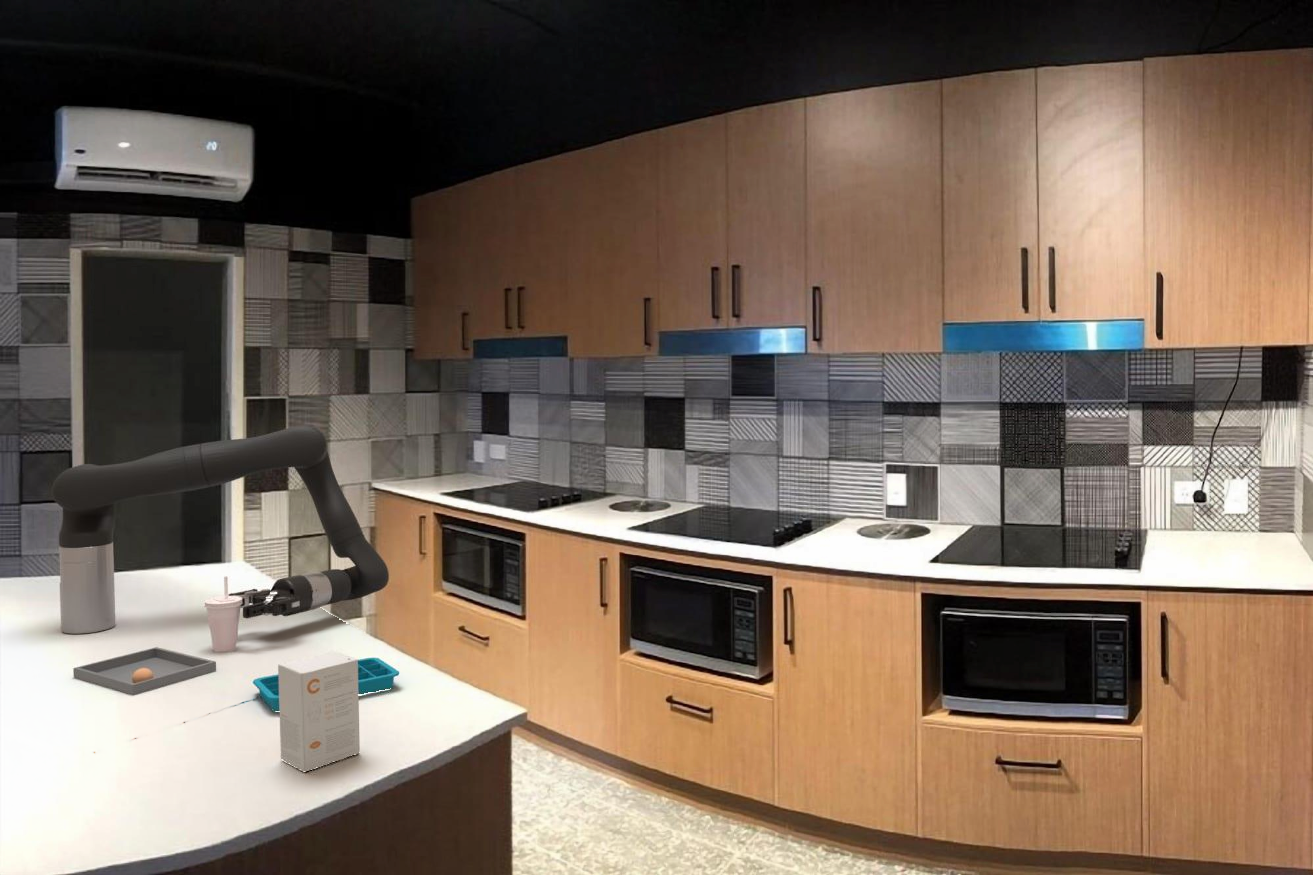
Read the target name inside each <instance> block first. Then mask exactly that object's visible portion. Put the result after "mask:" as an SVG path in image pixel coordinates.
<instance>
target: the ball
mask: <svg viewBox="0 0 1313 875" xmlns="http://www.w3.org/2000/svg"><path fill="white" fill-rule="evenodd" d="M152 678H153V673H152V671H151V670H149V669H147V668H141V669H138V670H137V671H135V673H134V674H133V676H132V682H133V683H138V682H141V681H145V680H148V679H152Z"/></svg>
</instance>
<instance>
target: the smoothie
mask: <svg viewBox="0 0 1313 875" xmlns="http://www.w3.org/2000/svg"><path fill="white" fill-rule="evenodd" d="M223 579H224V580H223V584H224V585H223V586H224V587H223V588H224V595H222V596H215V597H212V598H208V599H206V600H204V608H206V613H207V619H208V625H209V632H210V635H211V636H210V637H211V643H212V649H213V650H212V651H213V652H215V653H225V652H226V653H227V652H230V651H231V652H235V651H237V644H238V643H237V642H238V632H239V623H240V615H241V609H240V607H241V604H242V603H243V602H242V598H241V597H239V596H228V594H229V590H228V587H229V586H228V585H229V584H228V581H229V580H228V576H225V575H224V576H223Z"/></svg>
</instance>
